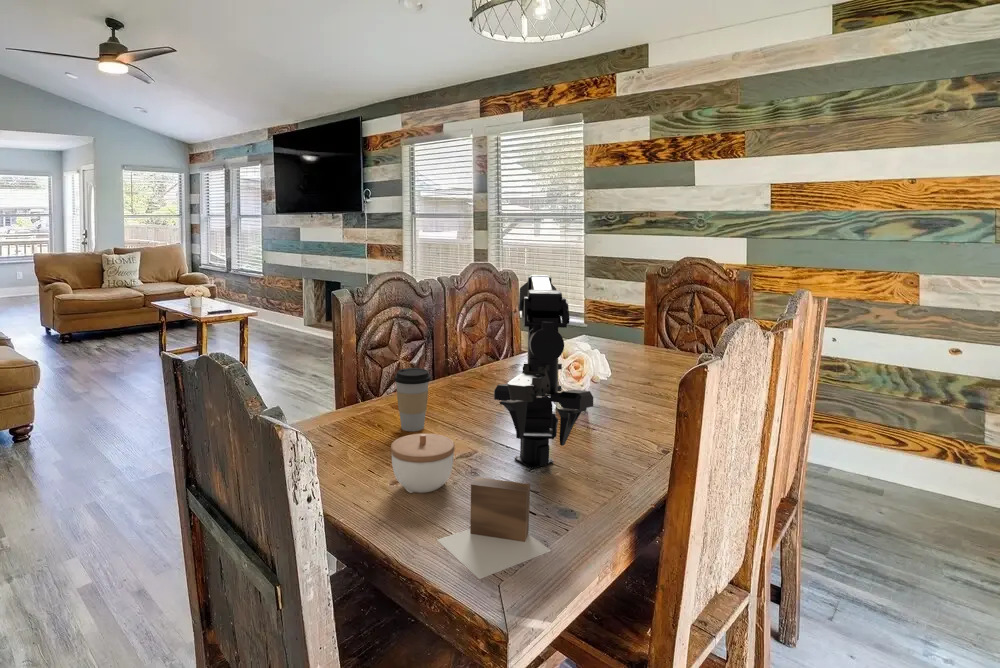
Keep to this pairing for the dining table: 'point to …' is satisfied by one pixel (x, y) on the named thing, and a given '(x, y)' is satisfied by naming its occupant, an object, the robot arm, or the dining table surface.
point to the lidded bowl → (422, 461)
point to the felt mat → (490, 551)
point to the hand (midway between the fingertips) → (540, 441)
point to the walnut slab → (500, 509)
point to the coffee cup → (412, 397)
